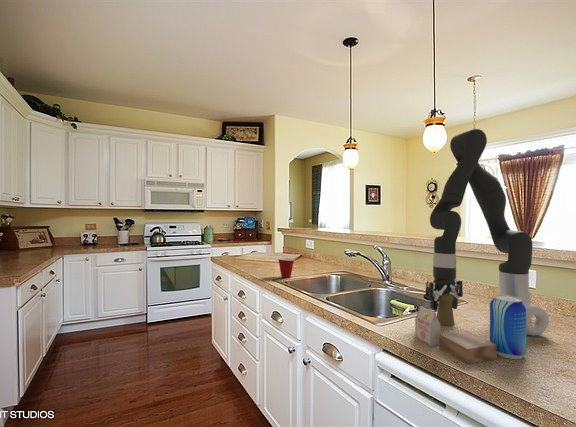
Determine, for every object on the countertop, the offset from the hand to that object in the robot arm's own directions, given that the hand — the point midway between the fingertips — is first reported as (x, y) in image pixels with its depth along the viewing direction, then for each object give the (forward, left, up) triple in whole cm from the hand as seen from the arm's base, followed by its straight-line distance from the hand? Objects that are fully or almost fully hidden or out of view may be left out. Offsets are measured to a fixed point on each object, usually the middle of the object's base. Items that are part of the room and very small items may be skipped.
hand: (444, 309), depth 110 cm
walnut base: (+12, +21, -5) cm, 25 cm away
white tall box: (+17, +11, -5) cm, 21 cm away
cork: (0, 0, -5) cm, 5 cm away
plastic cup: (+36, -90, -5) cm, 97 cm away
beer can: (+1, +25, -5) cm, 25 cm away
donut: (-19, +17, -5) cm, 26 cm away
